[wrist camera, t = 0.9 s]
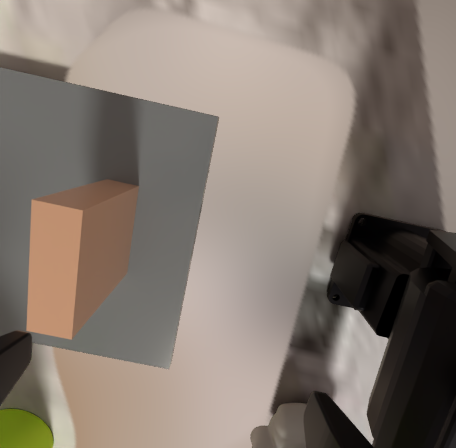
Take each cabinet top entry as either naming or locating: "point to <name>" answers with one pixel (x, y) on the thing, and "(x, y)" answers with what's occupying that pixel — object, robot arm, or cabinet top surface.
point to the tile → (77, 253)
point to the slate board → (93, 172)
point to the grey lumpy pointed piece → (282, 429)
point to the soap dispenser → (23, 430)
